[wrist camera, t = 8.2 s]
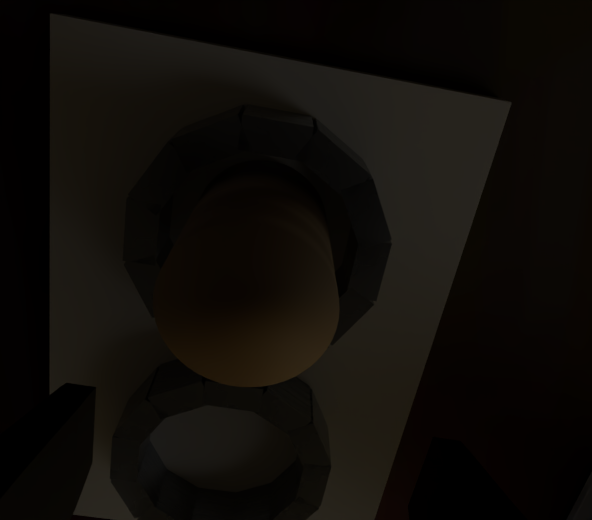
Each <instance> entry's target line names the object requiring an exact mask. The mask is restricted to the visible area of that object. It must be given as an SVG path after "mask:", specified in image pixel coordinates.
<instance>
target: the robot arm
mask: <svg viewBox="0 0 592 520" xmlns="http://www.w3.org/2000/svg"><path fill="white" fill-rule="evenodd" d="M95 400H96V387H92V386H85V385H79V384H72V383H65V384H64V385H62V386H60V387H59V388H58V389H57V390H55V391H54V392H53V393H52V394H50V395H49V396H48V397H47V398H46V399H44V400H43V401H42V402H41V403H39V404H38V405H37V406H36V407H34V408H33V409H32V410H31V411H29V412H28V413H27V414H26V415H24V416H23V417H22V418H21V419H19V420H18V421H17V422H15V423H14V424H13V425H12V426H10V427H9V428H8V429H6V430H5V431H4V432H2V433H1V434H0V520H70V519H71V517H72V515H73V513H74V511H75V508H76V506H77V503H78V500H79V498H80V495H81V493H82V490H83V487H84V485H85V482H86V479H87V476H88V474H89V471H90V468H91V465H92V462H93V441H94V421H95ZM408 510H409V519H410V520H527V519H526V518H525V517H524V515H523V514H522V513H521V512H520V511H519V510H518V509H517V507H516V506H515V505H514V504H513V503H512V501H511V500H510V499H509V498H508V497H507V496H506V494H505V493H504V492H503V491H502V490H501V488H500V487H499V486H498V485H497V484H496V482H495V481H494V480H493V479H492V478H491V476H490V475H489V474H488V473H487V472H486V470H485V469H484V468H483V467H482V466H481V464H480V463H479V462H478V461H477V460H476V458H475V457H474V456H473V455H472V454H471V453H470V451H469V450H468V449H467V448H466V447H465V446H464V444H463V443H462V442H461V441H457V440H450V439H443V438H436V437H433V439H432V442H431V445H430V447H429V450H428V453H427V456H426V458H425V461H424V464H423V467H422V469H421V472H420V475H419V478H418V480H417V483H416V486H415V488H414V491H413V494H412V497H411V499H410V502H409V505H408ZM566 520H592V472H591V474H590V476H589V477H588V479H587V481H586V483H585V485H584V487H583V489H582V491H581V493H580V495H579V497H578V498H577V500H576V502H575V504H574V506H573V508H572V510H571V512H570V514H569V516H568V518H567V519H566Z"/></svg>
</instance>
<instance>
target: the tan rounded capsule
mask: <svg viewBox="0 0 592 520" xmlns="http://www.w3.org/2000/svg"><path fill="white" fill-rule="evenodd" d="M339 310H340V307H339V295H338V289H337V282H336V276H335V270H334V263H333V257H332V251H331V244H330V238H329V232H328V225H327V219H326V213H325V208H324V205H323V202H322V200H321V198H320V196H319V194H318V192H317V190H316V189H315V188H314V186H313V185H312V184H311V183H310V182H309V180H308V179H307V178H305V177H304V176H303V175H302V174H301V173H299V172H298V171H296V170H294V169H293V168H291V167H289V166H286V165H284V164H281V163H278V162H273V161H268V160H252V161H246V162H241V163H238V164H235V165H233V166H231V167H229V168H227V169H225V170H223V171H222V172H221V173H219V174H218V175H217V176H216V177H215V178H214V179H212V180H211V182H210V183H209V184H208V185H207V187H206V188H205V190H204V192H203V193H202V195H201V197H200V199H199V200H198V202H197V204H196V206H195V208H194V210H193V211H192V213H191V215H190V217H189V219H188V220H187V222H186V224H185V226H184V228H183V230H182V231H181V233H180V235H179V237H178V239H177V241H176V242H175V244H174V246H173V248H172V250H171V251H170V253H169V255H168V257H167V259H166V261H165V262H164V264H163V266H162V268H161V270H160V272H159V274H158V277H157V279H156V283H155V287H154V293H153V311H154V317H155V321H156V325H157V327H158V330H159V333H160V335H161V337H162V338H163V340H164V342H165V344H166V345H167V346H168V348H169V349H170V351H171V352H172V353H173V354H174V355H175V356H176V357H177V358H178V359H179V360H180V361H181V362H182V363H183V364H184V365H186V366H187V367H188V368H190V369H191V370H193V371H194V372H196V373H197V374H199V375H201V376H203V377H205V378H207V379H210V380H213V381H215V382H218V383H222V384H226V385H230V386H237V387H262V386H268V385H274V384H277V383H280V382H284V381H286V380H289V379H291V378H293V377H295V376H297V375H299V374H300V373H302V372H304V371H305V370H307V369H308V368H309V367H311V366H312V365H313V364H314V363H315V362H316V361H317V360H318V359H319V358H320V357H321V356H322V355H323V353H324V352H325V351H326V349H327V348H328V346H329V345H330V343H331V341H332V339H333V337H334V334H335V332H336V329H337V324H338V320H339Z"/></svg>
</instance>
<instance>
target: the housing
mask: <svg viewBox="0 0 592 520" xmlns="http://www.w3.org/2000/svg"><path fill="white" fill-rule="evenodd" d="M511 103H512V102H509V101H507V100H504V99H501V98H497V97H491V96H486V95H481V94H476V93H471V92H466V91H460V90H455V89H450V88H445V87H440V86H434V85H429V84H424V83H419V82H414V81H409V80H403V79H398V78H393V77H388V76H383V75H377V74H372V73H367V72H362V71H357V70H352V69H346V68H341V67H336V66H331V65H326V64H321V63H315V62H310V61H305V60H300V59H295V58H289V57H284V56H279V55H274V54H269V53H264V52H258V51H253V50H248V49H243V48H238V47H232V46H227V45H222V44H217V43H212V42H207V41H201V40H196V39H191V38H186V37H181V36H176V35H170V34H165V33H160V32H155V31H150V30H144V29H139V28H134V27H129V26H124V25H119V24H113V23H108V22H103V21H98V20H93V19H87V18H82V17H77V16H72V15H67V14H53V13H50V394H52V393H53V392H54V391H55V390H57V389H58V388H59V387H60V386H62V385H64V384H65V383H72V384H79V385H85V386H92V387H96V400H95V421H94V441H93V462H92V465H91V468H90V471H89V474H88V476H87V479H86V482H85V485H84V487H83V490H82V493H81V495H80V498H79V500H78V503H77V506H76V508H75V511H74V513H73V514H74V515H82V516H90V517H98V518H106V519H114V520H374V519H375V516H376V513H377V510H378V507H379V504H380V501H381V498H382V495H383V492H384V489H385V485H386V482H387V479H388V476H389V473H390V470H391V467H392V464H393V461H394V458H395V455H396V452H397V449H398V446H399V443H400V440H401V437H402V434H403V431H404V428H405V425H406V422H407V419H408V416H409V413H410V410H411V407H412V404H413V400H414V397H415V394H416V391H417V388H418V385H419V382H420V379H421V376H422V373H423V370H424V367H425V364H426V361H427V358H428V355H429V352H430V349H431V346H432V343H433V340H434V337H435V334H436V331H437V328H438V325H439V322H440V318H441V315H442V312H443V309H444V306H445V303H446V300H447V297H448V294H449V291H450V288H451V285H452V282H453V279H454V276H455V273H456V270H457V267H458V264H459V261H460V258H461V255H462V252H463V249H464V246H465V243H466V240H467V237H468V233H469V230H470V227H471V224H472V221H473V218H474V215H475V212H476V209H477V206H478V203H479V200H480V197H481V194H482V191H483V188H484V185H485V182H486V179H487V176H488V173H489V170H490V167H491V164H492V161H493V158H494V155H495V152H496V148H497V145H498V142H499V139H500V136H501V133H502V130H503V127H504V124H505V121H506V118H507V115H508V112H509V109H510V106H511ZM252 160H268V161H273V162H278V163H281V164H284V165H286V166H289V167H291V168H293V169H294V170H296V171H298V172H299V173H301V174H302V175H303V176H304V177H305V178H307V179H308V180H309V182H310V183H311V184H312V185H313V186H314V188H315V189H316V190H317V192H318V194H319V196H320V198H321V200H322V202H323V205H324V208H325V213H326V219H327V225H328V232H329V238H330V244H331V251H332V257H333V263H334V270H335V276H336V282H337V289H338V295H339V307H340V310H339V320H338V324H337V329H336V332H335V334H334V337H333V339H332V341H331V343H330V345H329V346H328V348H327V349H326V351H325V352H324V353H323V355H322V356H321V357H320V358H319V359H318V360H317V361H316V362H315V363H314V364H313V365H312V366H311V367H309V368H308V369H307V370H305V371H304V372H302V373H300V374H299V375H297V376H295V377H293V378H291V379H289V380H286V381H284V382H280V383H277V384H274V385H268V386H262V387H237V386H230V385H226V384H222V383H218V382H215V381H213V380H210V379H207V378H205V377H203V376H201V375H199V374H197V373H196V372H194V371H193V370H191V369H190V368H188V367H187V366H186V365H184V364H183V363H182V362H181V361H180V360H179V359H178V358H177V357H176V356H175V355H174V354H173V353H172V352H171V351H170V349H169V348H168V346H167V345H166V344H165V342H164V340H163V338H162V337H161V335H160V333H159V330H158V327H157V325H156V321H155V317H154V311H153V293H154V287H155V283H156V279H157V277H158V274H159V272H160V270H161V268H162V266H163V264H164V262H165V261H166V259H167V257H168V255H169V253H170V251H171V250H172V248H173V246H174V244H175V242H176V241H177V239H178V237H179V235H180V233H181V231H182V230H183V228H184V226H185V224H186V222H187V220H188V219H189V217H190V215H191V213H192V211H193V210H194V208H195V206H196V204H197V202H198V200H199V199H200V197H201V195H202V193H203V192H204V190H205V188H206V187H207V185H208V184H209V183H210V182H211V180H212V179H214V178H215V177H216V176H217V175H218V174H219V173H221V172H222V171H223V170H225V169H227V168H229V167H231V166H233V165H235V164H238V163H241V162H246V161H252Z"/></svg>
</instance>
